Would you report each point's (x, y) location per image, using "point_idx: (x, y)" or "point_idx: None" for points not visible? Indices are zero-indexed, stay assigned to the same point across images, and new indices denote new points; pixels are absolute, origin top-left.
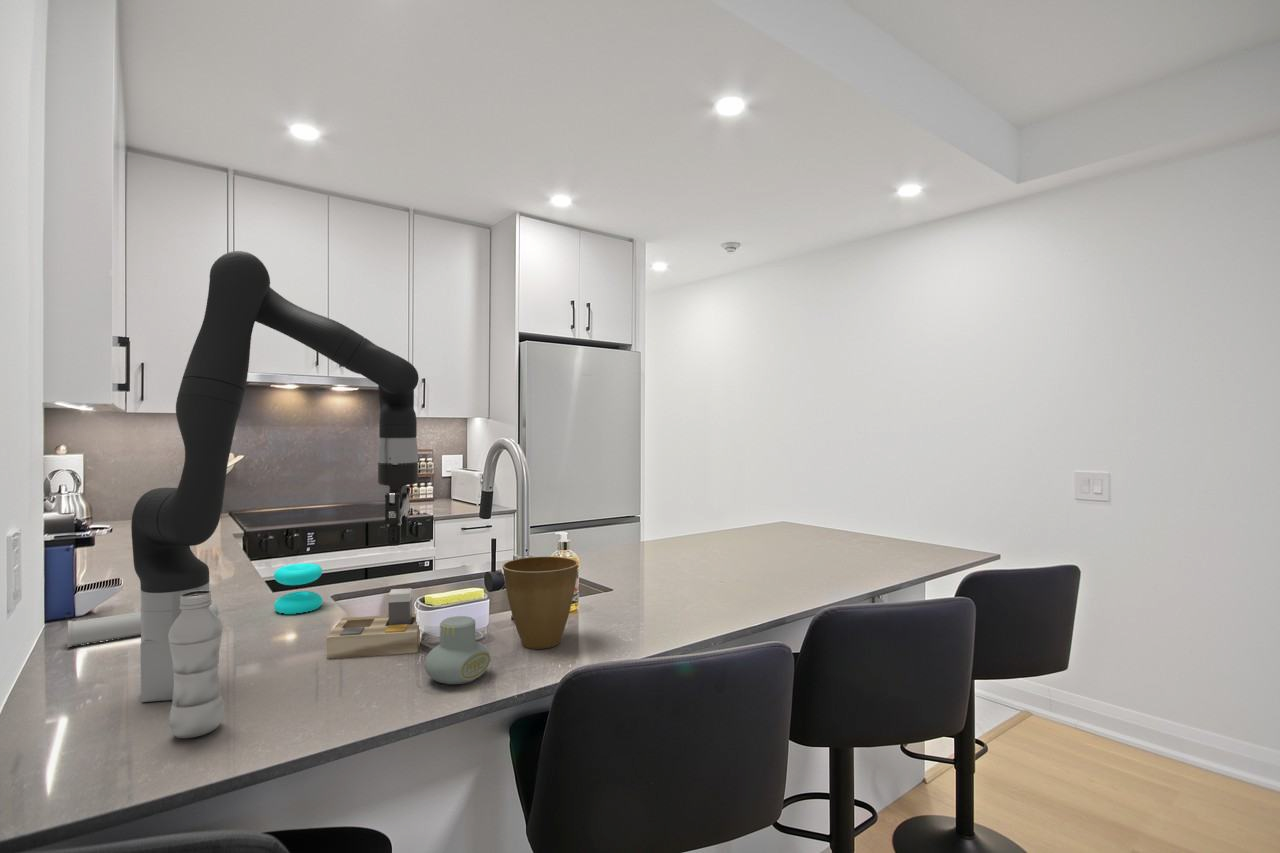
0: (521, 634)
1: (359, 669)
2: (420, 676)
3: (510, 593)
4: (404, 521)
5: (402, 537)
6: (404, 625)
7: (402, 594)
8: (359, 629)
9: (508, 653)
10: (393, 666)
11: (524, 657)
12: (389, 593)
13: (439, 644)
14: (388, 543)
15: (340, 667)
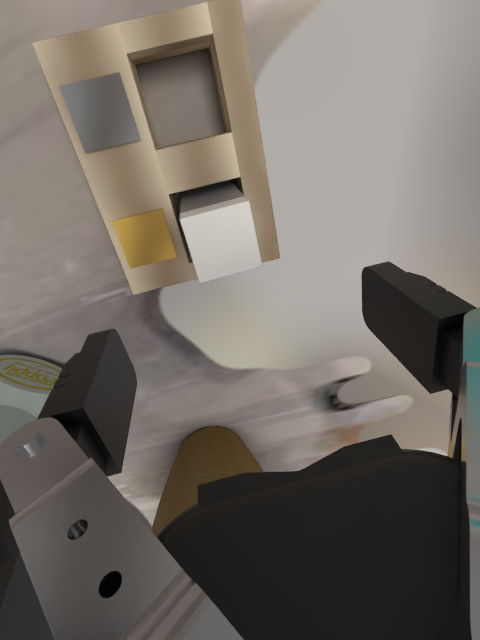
0: (183, 450)
1: (14, 189)
2: (20, 328)
3: (170, 513)
4: (421, 370)
5: (363, 300)
6: (165, 252)
7: (193, 261)
8: (112, 135)
9: (160, 420)
10: (53, 258)
11: (145, 443)
12: (193, 216)
13: (9, 394)
14: (90, 337)
15: (11, 132)
